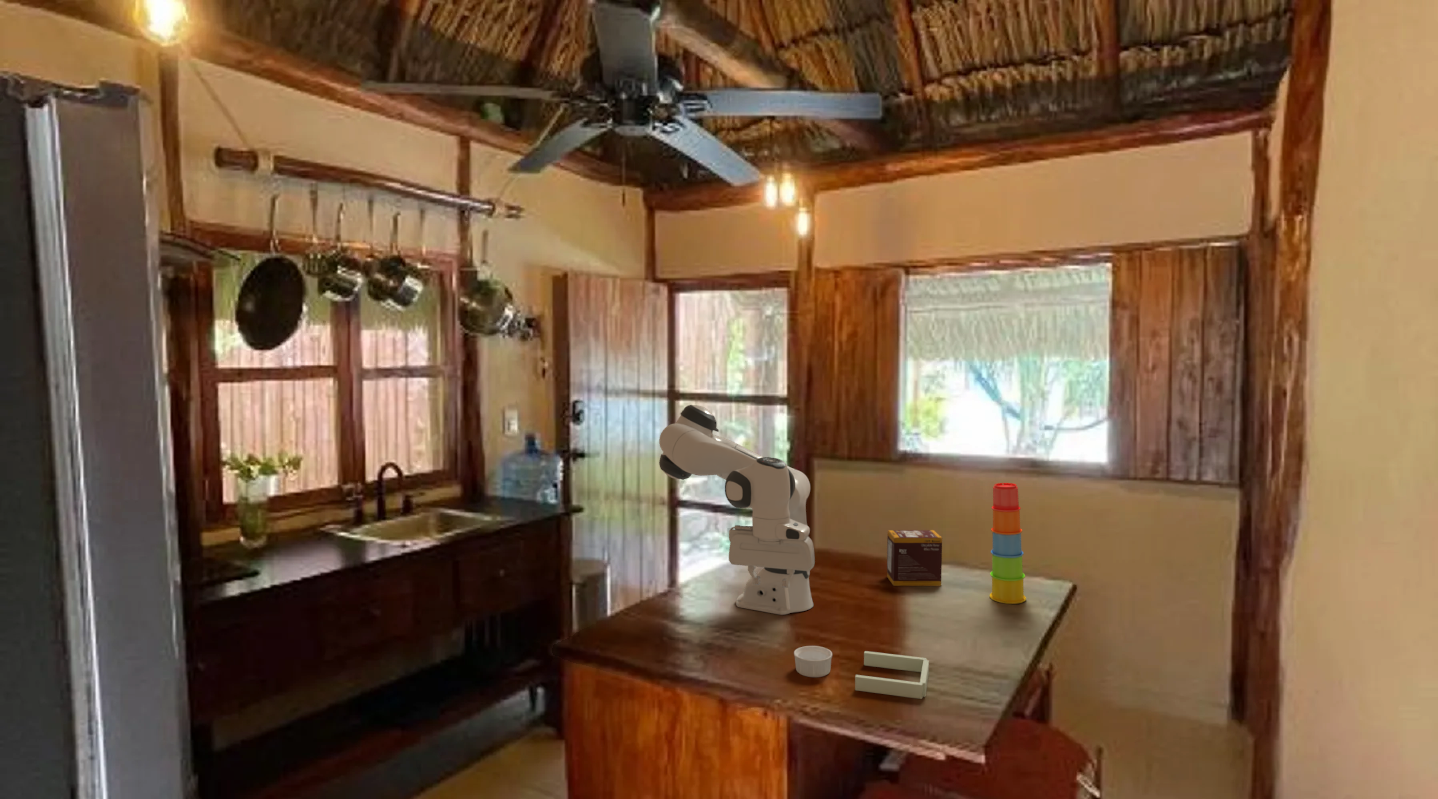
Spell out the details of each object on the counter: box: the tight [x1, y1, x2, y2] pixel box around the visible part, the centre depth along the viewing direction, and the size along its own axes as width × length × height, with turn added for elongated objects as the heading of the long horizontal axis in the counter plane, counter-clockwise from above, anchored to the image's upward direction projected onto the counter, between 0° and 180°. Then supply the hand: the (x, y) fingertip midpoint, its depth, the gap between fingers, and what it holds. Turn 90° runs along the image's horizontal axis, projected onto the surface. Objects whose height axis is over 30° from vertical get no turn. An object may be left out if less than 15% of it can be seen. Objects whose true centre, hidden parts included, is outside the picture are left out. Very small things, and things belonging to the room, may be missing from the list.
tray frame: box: [854, 650, 930, 700], centre depth 176 cm, size 15×15×3 cm
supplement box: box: [886, 529, 943, 587], centre depth 251 cm, size 10×15×16 cm
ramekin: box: [793, 645, 833, 678], centre depth 182 cm, size 9×9×4 cm
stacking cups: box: [989, 482, 1027, 605], centre depth 232 cm, size 10×10×35 cm
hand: (771, 585), depth 184 cm, fingers open, 6 cm apart
